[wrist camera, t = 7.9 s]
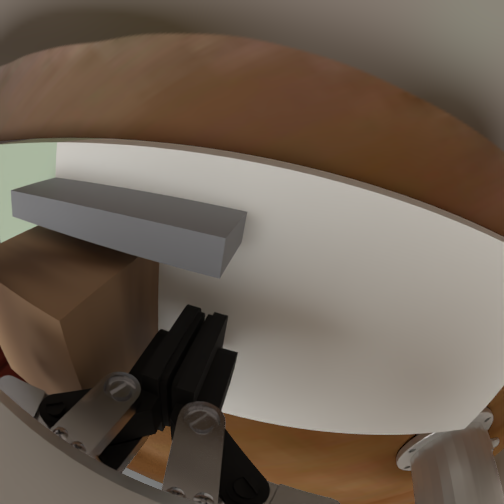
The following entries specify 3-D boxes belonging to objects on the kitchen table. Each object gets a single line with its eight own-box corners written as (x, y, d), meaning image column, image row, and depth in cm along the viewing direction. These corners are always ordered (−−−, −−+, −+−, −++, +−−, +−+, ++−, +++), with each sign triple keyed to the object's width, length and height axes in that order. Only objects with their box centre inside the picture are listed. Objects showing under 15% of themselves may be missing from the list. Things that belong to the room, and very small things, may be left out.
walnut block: (160, 240, 11) (59, 321, 5) (158, 346, 13) (102, 432, 8) (63, 214, 11) (-29, 259, 6) (74, 310, 14) (11, 368, 8)
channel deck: (534, 253, 11) (591, 298, 5) (452, 395, 17) (472, 456, 10) (-10, 142, 15) (-63, 155, 9) (1, 267, 21) (-41, 294, 14)
